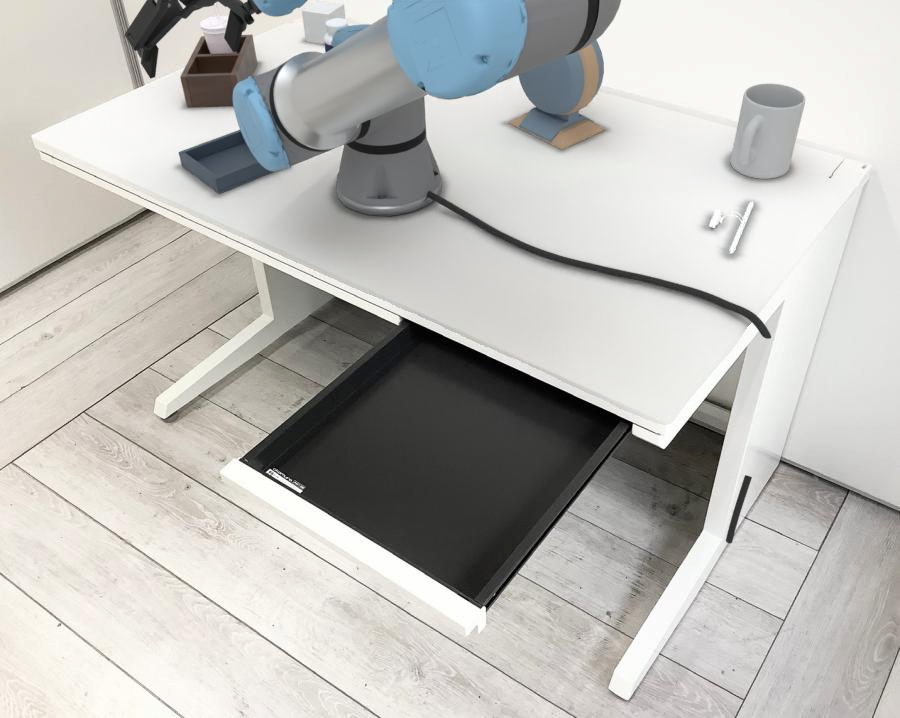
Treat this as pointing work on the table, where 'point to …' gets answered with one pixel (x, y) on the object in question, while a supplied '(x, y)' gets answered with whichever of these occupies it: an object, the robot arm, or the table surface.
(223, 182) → the tray
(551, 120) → the alarm clock
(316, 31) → the white cube
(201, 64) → the rack
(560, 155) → the table surface
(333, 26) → the pill bottle
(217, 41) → the smoothie
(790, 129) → the mug
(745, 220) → the picture light
